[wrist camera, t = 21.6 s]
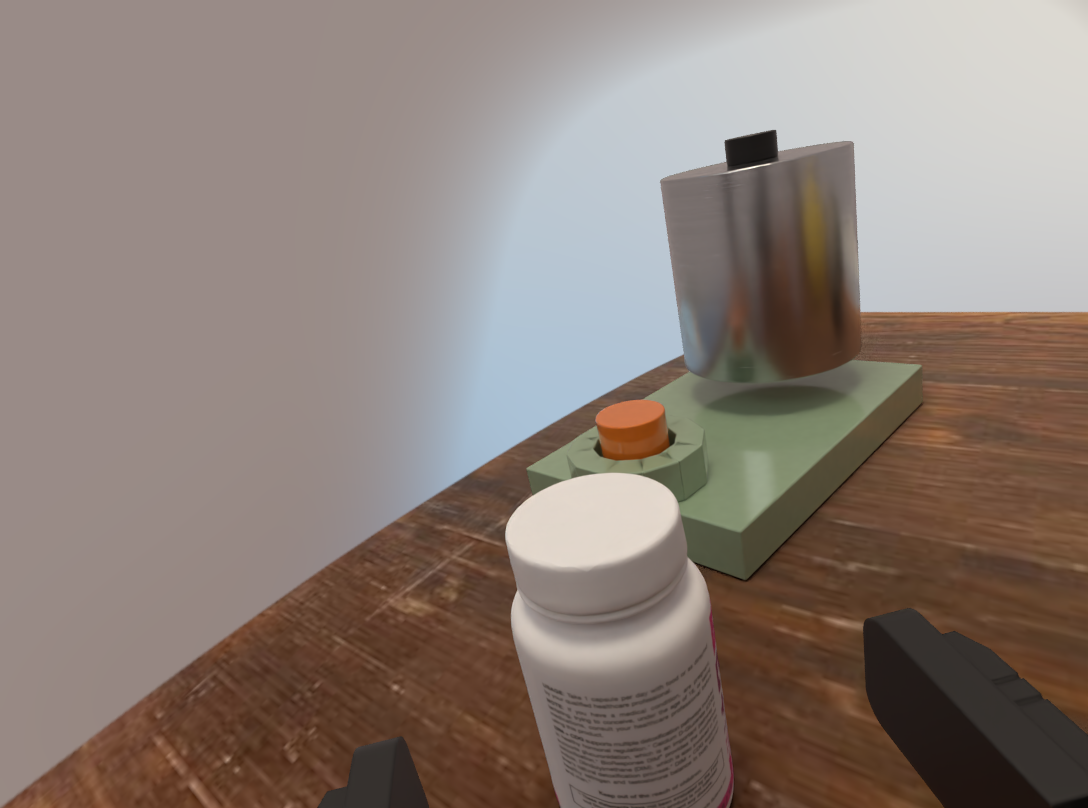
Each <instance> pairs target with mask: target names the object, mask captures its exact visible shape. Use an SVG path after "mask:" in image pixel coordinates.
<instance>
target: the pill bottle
mask: <svg viewBox="0 0 1088 808" xmlns="http://www.w3.org/2000/svg"><path fill="white" fill-rule="evenodd" d="M505 538H506V544H507V548H508V553H509V557H510V562H511V565H512V569H513V572H514V576H515V580H516V583H517V589H518V590H517V593H516V595H515V598H514V601H513V605H512V610H511V625H512V632H513V638H514V642H515V646H516V649H517V653H518V657H519V661H520V664H521V668H522V671H523V675H524V679H525V682H526V686H527V690H528V693H529V697H530V700H531V704H532V708H533V711H534V715H535V718H536V722H537V726H538V729H539V733H540V737H541V740H542V744H543V747H544V751H545V755H546V759H547V762H548V766H549V770H550V774H551V778H552V782H553V786H554V790H555V794H556V797H557V800H558V803H559V805H560V808H729V807H730V804H731V800H732V795H733V788H734V773H733V763H732V756H731V749H730V743H729V737H728V730H727V723H726V716H725V709H724V700H723V692H722V686H721V678H720V671H719V661H718V657H717V649H716V641H715V632H714V625H713V617H712V610H711V602H710V598H709V593H708V589H707V585H706V582H705V580H704V578H703V576H702V574H701V572H700V571H699V569H698V568H697V566H696V565H695V564H694V563H693V562H692V561H691V560H690V559H689V558H688V557H687V542H686V538H685V533H684V528H683V524H682V519H681V514H680V509H679V504H678V502H677V499H676V498H675V496H674V494H673V493H672V492H671V491H670V490H669V489H668V488H667V487H665V486H664V485H663V484H661V483H659V482H657V481H655V480H653V479H650V478H648V477H644V476H640V475H635V474H626V473H602V474H592V475H585V476H580V477H576V478H572V479H569V480H566V481H562V482H560V483H557V484H554V485H552V486H550V487H548V488H546V489H544V490H542V491H540V492H538V493H536V494H535V495H533V496H532V497H530V498H529V499H527V500H526V501H525V502H524V503H523V504H521V505H520V506H519V507H518V508H517V509H516V511H515V512H514V513H513V515H512V516H511V517H510V519H509V521H508V524H507V527H506V532H505Z"/></svg>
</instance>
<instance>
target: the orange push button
mask: <svg viewBox="0 0 1088 808" xmlns="http://www.w3.org/2000/svg"><path fill="white" fill-rule="evenodd" d="M596 426H597V431H598V436H599V441H600V447H601V452H602V455H603V457H604V458H608V459H612V460H616V461H619V460H637V459H643V458H647V457H650V456H654V455H657V454H660V453H661V452H663V451H664V450H666V449H667V448H669V447H670V439H669V432H668V426H667V419H666V412H665V408H664V406H663V405H662V404H661V403H659V402H656V401H651V400H631V401H625V402H621V403H617V404H614V405H611V406H609V407H607V408H605V409H603V410H602V411H600V412H599V413H598V414H597V416H596Z"/></svg>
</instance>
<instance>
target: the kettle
mask: <svg viewBox="0 0 1088 808" xmlns="http://www.w3.org/2000/svg"><path fill="white" fill-rule="evenodd" d="M725 151H726V159H727V162H724V163H720V164H715V165H710V166H706V167H702V168H698V169H694V170H689V171H686V172H682V173H679V174H675V175H671V176H668V177H665V178H663V179H662V180H661V181H660V183H661V190H662V197H663V204H664V212H665V219H666V226H667V234H668V241H669V248H670V256H671V263H672V269H673V277H674V285H675V292H676V300H677V306H678V314H679V321H680V328H681V336H682V343H683V351H684V358H685V365H686V367H687V369H688V370H689V371H690V372H691V373H693V374H694V375H696V376H699V377H701V378H705V379H708V380H713V381H719V382H727V383H769V382H779V381H787V380H794V379H799V378H804V377H809V376H813V375H817V374H821V373H824V372H827V371H830V370H833V369H835V368H838V367H840V366H842V365H844V364H846V363H848V362H850V361H851V360H853V359H854V358H855V357H856V356H857V355H858V354H859V352H860V351H861V347H862V341H861V316H860V291H859V268H858V267H859V266H858V240H857V215H856V192H855V191H856V189H855V164H854V143H853V142H851V141H843V142H834V143H827V144H819V145H813V146H807V147H801V148H796V149H789V150H784V151H778V148H777V135H776V130H771V131H766V132H760V133H756V134H751V135H746V136H741V137H737V138H733V139H729V140H725Z"/></svg>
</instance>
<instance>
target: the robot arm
mask: <svg viewBox="0 0 1088 808" xmlns="http://www.w3.org/2000/svg"><path fill="white" fill-rule="evenodd" d="M863 634H864V657H865V679H866V691H867V695H868V699H869V702H870V705H871V707H872V709H873V712H874V714H875V716H876V717H877V719H878V721H879V723H880V724H881V726H882V727H883V728H884V730H885V731H886V732H887V734H888V735H889V736H890V738H891V739H892V740H893V741H894V743H895V744H896V745H897V747H898V748H899V749H900V750H901V752H902V753H903V754H904V756H905V757H906V758H907V759H908V761H909V762H910V763H911V765H912V766H913V767H914V769H915V770H916V771H917V772H918V774H919V775H920V776H921V778H922V779H923V780H924V781H925V783H926V784H927V785H928V787H929V788H930V789H931V790H932V792H933V793H934V794H935V796H936V797H937V798H938V800H939V801H940V802H941V803H942V805H943V806H944V807H945V808H1088V735H1087V734H1086V733H1085V732H1084V731H1083V730H1082V729H1080V728H1079V727H1078V726H1077V725H1076V724H1075V723H1074V722H1072V721H1071V720H1070V719H1069V718H1068V717H1067V716H1066V715H1065V714H1063V713H1062V712H1061V711H1060V710H1059V709H1058V708H1057V707H1055V706H1054V705H1053V704H1052V703H1051V702H1050V701H1049V700H1048V699H1046V700H1044V699H1043V698H1042V696H1041V693H1040V692H1038V691H1037V690H1036V689H1035V688H1034V687H1033V686H1032V685H1030V684H1029V683H1028V682H1027V681H1026V680H1025V679H1024V678H1023V679H1020V677H1019V676H1018V673H1017V672H1016V671H1015V670H1013V669H1012V668H1011V667H1010V666H1009V665H1008V664H1007V663H1005V662H1004V661H1003V660H1002V659H1001V658H1000V657H999V656H998V655H996V654H995V653H994V652H993V651H992V650H991V649H989V648H987V647H985V646H983V645H981V644H979V643H977V642H975V641H973V640H971V639H969V638H967V637H965V636H963V635H961V634H959V633H957V632H955V631H953V632H949V633H945V634H941V633H940V632H939V631H938V630H937V629H936V628H935V627H934V626H933V625H931V624H930V623H929V622H928V621H927V620H926V619H925V618H924V617H923V616H922V615H921V614H920V613H918V612H917V611H916V610H914V609H911V608H907V609H903V610H899V611H895V612H891V613H887V614H883V615H879V616H875V617H872V618H868V619H866V620H865V622H864V626H863ZM318 808H429V805H428V802H427V798H426V796H425V793H424V790H423V787H422V785H421V782H420V779H419V776H418V774H417V771H416V768H415V765H414V763H413V760H412V757H411V755H410V752H409V749H408V746H407V744H406V741H405V740H404V738H403V737H397V738H393V739H389V740H385V741H381V742H377V743H373V744H369V745H365V746H362V747H358V748H357V749H356V750H355V752H354V754H353V758H352V764H351V769H350V774H349V779H348V785H347V787H343V788H339V789H335V790H331V791H327V793H326V794H325V796H324V798H323V799H322V801H321V803H320V804H319V806H318Z"/></svg>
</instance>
